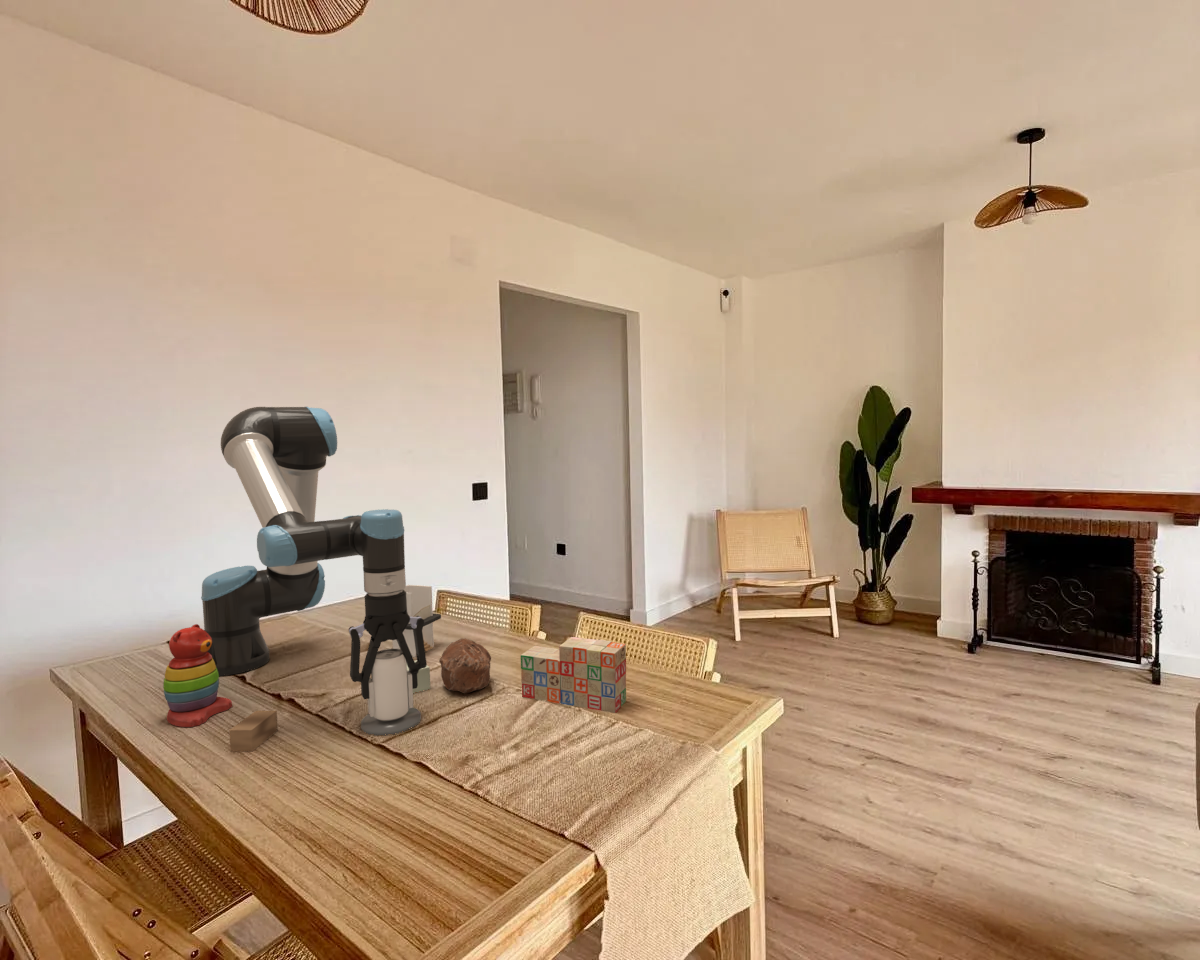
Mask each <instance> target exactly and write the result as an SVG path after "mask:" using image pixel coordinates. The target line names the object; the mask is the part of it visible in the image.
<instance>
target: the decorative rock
mask: <svg viewBox="0 0 1200 960" xmlns="http://www.w3.org/2000/svg"><path fill="white" fill-rule="evenodd" d="M491 661H492V657H491V654H490V653H489V651H488V650H487V649H486V647H484V645H481V643H480V644H479V643H477V642H475V641H473V640H470V639H468V638H466V637H464V638H459V639H457V640H455V641H453V642H451V643H449V644H448V645H447V647H446V648H445V650H444V651H443V653H442V654H441V656H440V657H439V663H440V666H441V667H440V668H441V674H440V677H441V681H442V682H443V683H442V684H443V685H444V687H445V688H446V689H447V690H448V691H454V692H457V691H458V692H460V693H463V694H468V693H469V694H470V693H471V692H474V691H480V690H481V689H484V687H488V685H489V683H490V680H491V675H490V674H491V673H490V672H491V664H492V663H491Z"/></svg>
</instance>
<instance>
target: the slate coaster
mask: <svg viewBox="0 0 1200 960" xmlns="http://www.w3.org/2000/svg"><path fill="white" fill-rule="evenodd" d="M421 720H422V713H421V710H419V709H418V708H416V707H414V706H413V707H412V708H409V707H408V712H407V714H406V715H405V716H403V717H402V718H399V719H396V720H392V721H380V720H377V719H376V718H375V717H374V716H373V717H371V716H370V714H369V713H367V714H366V715H365V716H364V717H363V718H362V719H361V721H360V728H361V731H362V730H363V731H364V732H363V731H362V732H363V733H365V732H366V733H365V734H367V733H368V734H367V735H370V734H374V735H373V736H378V735H383V736H389V735H388V734H392V735H396V734H395V733H397V734H400V733H399V732H401V733H403V732H402V731H404V732H406V731H405V730H407V729H409V728H411V727H413V728H415V727H416V726H417V725H418V724H419V723H420V722H421ZM415 725H416V726H415ZM414 726H415V727H414ZM411 729H412V728H411ZM409 730H410V729H409ZM407 731H408V730H407ZM385 734H386V735H385Z"/></svg>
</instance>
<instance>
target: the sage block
mask: <svg viewBox="0 0 1200 960" xmlns="http://www.w3.org/2000/svg"><path fill="white" fill-rule="evenodd" d="M414 662H417V659H416V660H414ZM406 665H407V663H406ZM430 668H431V667H430V666H429V665H427V666H426V667H425V668H421V669H420V670H418V671H419V672H418V674H417V681H418V686H417V688H415V689H413V693H414V694H416V693H415V692H418V693H420V692H419V691H421V692H424V691H423V690H425V691H427V690H428V689H429V690H431V669H430ZM407 670H409V668H408V666H407Z"/></svg>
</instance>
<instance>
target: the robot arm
mask: <svg viewBox="0 0 1200 960" xmlns="http://www.w3.org/2000/svg"><path fill="white" fill-rule="evenodd" d="M337 435H338V434H337V430H336V427H335V423H334V420H333V418H332V417H331V415H330V413H329V412H328V411H327V410H326V409H324V408H320V407H309V406H255V407H254V406H253V407H251V408H247V409H243V410H242V411H240V412H239V413H237V414H236V415H234V416H233V417H232V418H231V419H230V421H228V423H227V424H226V425H225V427H224V429H223V430H222V434H221V437H220V450H221V454H222V456H223V458H224V460H225V462H226V464H227V465H228V466H230V467H231V468H232V469H235V471H236V473H237V475H238V476H237V477H239V480H240V482H241V484H242V486H243V489H244V490H245V493H246V495H247V497H248V499H249V501H250V504H251V507H252V508H253V510H254V512H255V514H256V517H257V518H258V521H259V524H260V525H261V527H262V528H260V529H259V531H258V533H257V535H256V548H257V553H258V559H259V560H260V562H261V564H262V565H264V566H265V567H266V569H261V570H258V569H257V568H256V566H254V565H243V566H234V567H230V568H227V569H222V570H219V571H216V572H214V573H212V574H210V575H207V576H206V577H205V578H204V579H203V581H202V584H201V597H200V599H201V601H202V613H203V614H202V616H203V630H205V631H206V632H207V633H208V634H209V635H210V637H211V638H212V645H211V647H210V649H209V650H208V653H210V654H211V655H212V658H213V660H214V662H215V665H216V668H217V670H218V674H219V677H220V676H230V675H236V674H237V675H238V674H241V673H242V674H243V673H246V672H249V671H248V670H250V671H252V670H251V669H253V670H255V669H254V668H256V669H258V668H260V667H262V666H264V665H266V664H267V663H269V661H270V649H269V647H268V644H267V643H266V641H265V638H264V636H263V633H262V632H261V627H260V625H261V624H260V618H266V617H269V616H270V617H271V616H276V615H280V614H286V613H292V612H295V611H297V612H301V611H304V610H306V609H309V608H314V607H315V606H317V605H318V604H319V603H320V602H321V601H322V599H323V596H324V593H325V589H326V588H325V587H326V580H325V576H326V575H325V571H324V568H323V566H322V564H320V563H319V562H320V561H327V560H334V559H340V558H341V559H342V558H347V557H354V556H360V557H362V566H363V567H362V570H363V590H364V592H365V593H366V594H365V596H364V608H365V609H364V612H365V614H364V615H365V618H364V620H363V621H362V622H363V623H362V624H359V625H357V626H350V627H349V628H348V633H349V636H350V638H351V642H350V645H351V646H350V665H349V668H350V670H349V677H350V679H351V680H352V682H354V683H360V691H361V696H362V698H363V700H367V713H368V714H370V716H371V717H373V716H375V705H374V684H373V681H372V680H371V672H372V669H373V665H374V662H375V659H376V655H377V652H378V651H379V649H380V647H381V643H383V642H384V643H385V642H387V641H389V640H390V641H392V640H397V642H398V645H399V647H400V649H401V651H402V652H403V654H404V656H405V658H406V663H407V666H408V668H409V670H407V686H408V707H409V708H412V707H414V694H413V689H415V688H417V686H418V681H417V674H418V672H419V671H418V670H420V669H421V668H425V667H426V666H428V664H427V656H426V651H425V648H424V641H423V633H422V629H423V624H424V620H423V619H422V618H421V617H420V616H416V617H410V616H409V615H408V613H407V599H406V592H405V591H404V590H403V589H405V587H406V585H407V583H406V580H407V579H406V566H405V565H406V562H405V557H406V555H405V526H404V522H403V514H402V512H401V511H399V510H397V509H389V508H387V509H384V508H383V509H371V510H367V511H363V513H362V514H361V515H360V514H358V515H347V516H344V517H342V518H337V519H331V520H318V521H315V519H316V518H315V517H316V506H317V505H316V504H317V494H318V481H319V480H318V479H319V472H320V470H321V471H322V469H324V468H325V466H326V465H327V457H332V456H334V455H335V454H336V452H337V451H338V450H337V449H338V436H337ZM318 561H319V562H318ZM408 623H410V624H411V627H412V628H413V634H414V641H415V648H416V660H417V662H414V661H415V659H414V657H412V655H411V653H410V650H409V648H408V645H407V643H406V640H405V638H404V635H403V631H404V630H405V628H406V627H407V625H408ZM364 631H366V632H367V633H368V634H369V635H370V636H371V637H370V638H369V645H368V649H367V652H366V654H365V658H364V662H363V666H362V667H361V668H362V669H361V672H360V663H361V660H360V659H361V638H362V637H363V635H364V634H363V633H364ZM245 671H246V672H245Z"/></svg>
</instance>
